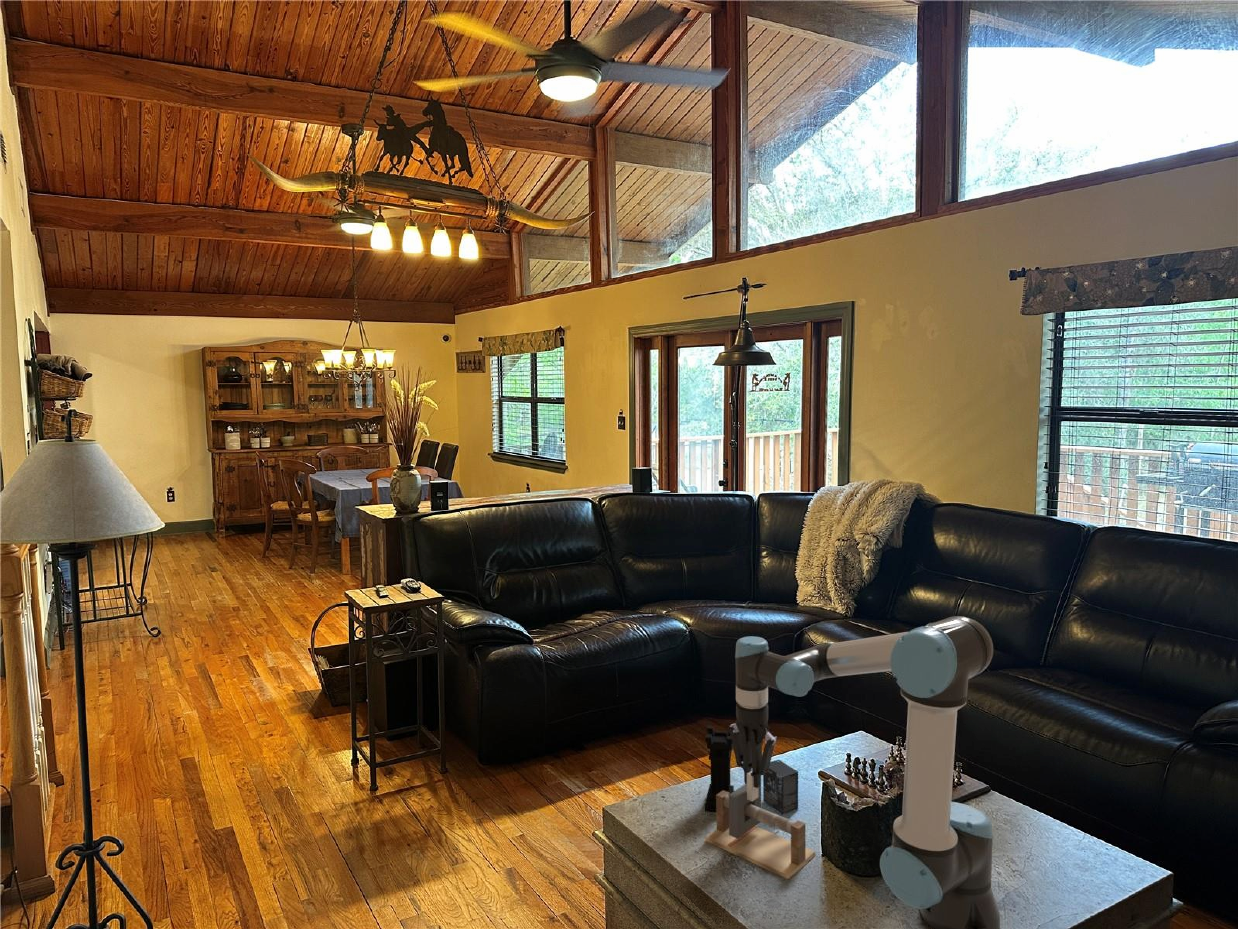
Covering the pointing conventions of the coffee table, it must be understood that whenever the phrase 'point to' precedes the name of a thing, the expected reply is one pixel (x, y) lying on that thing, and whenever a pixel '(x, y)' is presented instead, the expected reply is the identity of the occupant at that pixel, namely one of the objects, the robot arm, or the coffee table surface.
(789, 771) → the box
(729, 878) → the coffee table surface
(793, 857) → the pipe rig
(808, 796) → the coffee table surface
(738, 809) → the ring
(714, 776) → the chess piece
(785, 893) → the coffee table surface
